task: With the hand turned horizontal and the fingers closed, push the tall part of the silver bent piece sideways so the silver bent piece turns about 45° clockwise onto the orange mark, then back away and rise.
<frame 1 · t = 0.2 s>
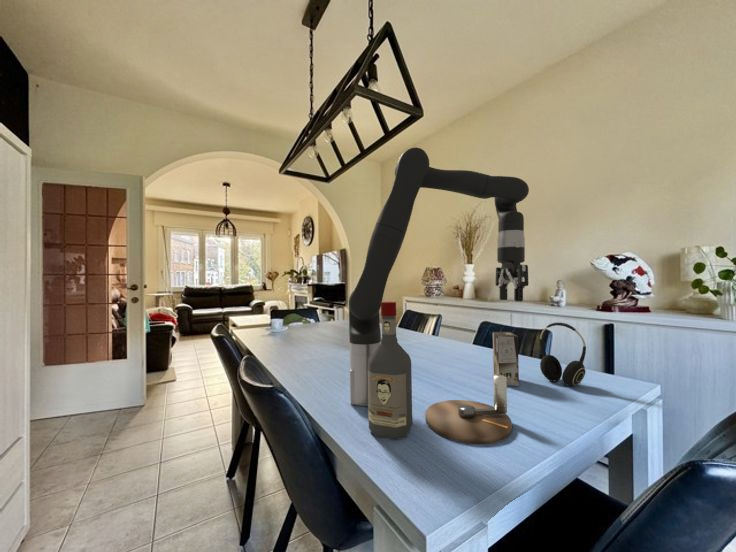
hand: (510, 300, 93), 28 cm above the table, tool pointing down, fingers open, 8 cm apart
liquor: (390, 430, 73), on the table
coffee box: (505, 381, 105), on the table
silver bent piece: (482, 395, 76), point 6 cm above the table, hinge at 0.0°
headphones: (562, 383, 102), on the table
round wooden board: (466, 422, 76), on the table
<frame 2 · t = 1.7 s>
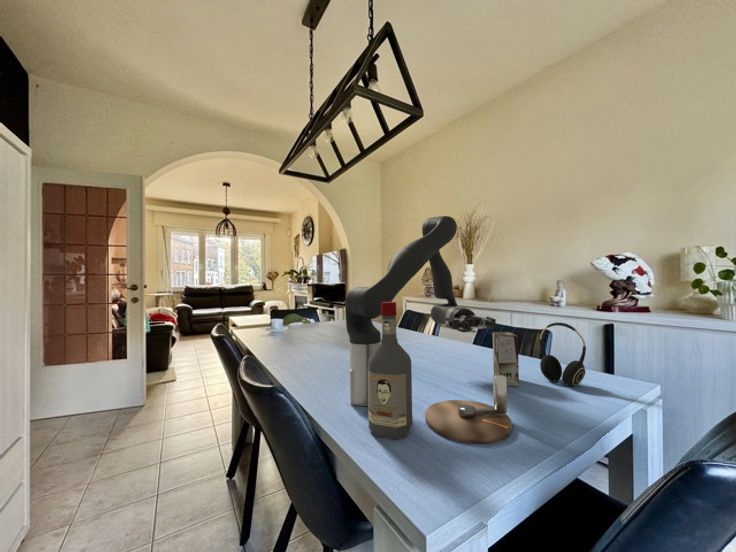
hand: (481, 326, 84), 22 cm above the table, tool horizontal, fingers open, 6 cm apart
nothing on the table moved.
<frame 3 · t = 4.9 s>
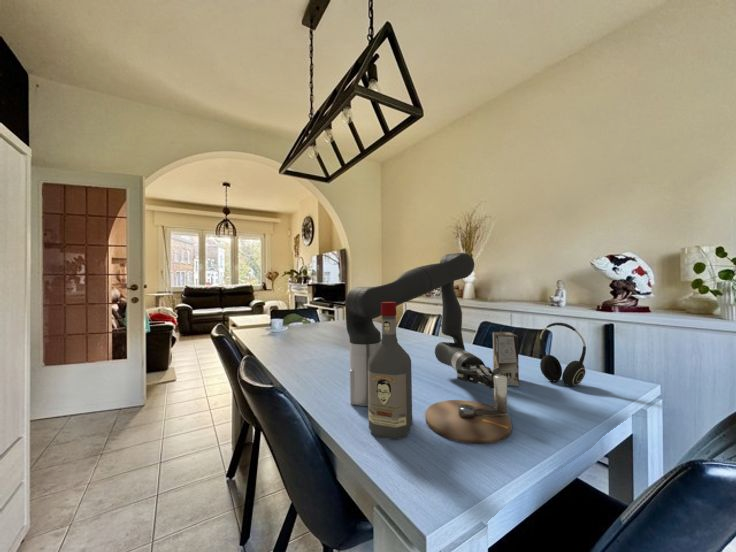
hand: (493, 384, 78), 9 cm above the table, tool horizontal, fingers closed
silver bent piece: (482, 395, 76), point 6 cm above the table, hinge at -1.1°, touching gripper
everything else where it was.
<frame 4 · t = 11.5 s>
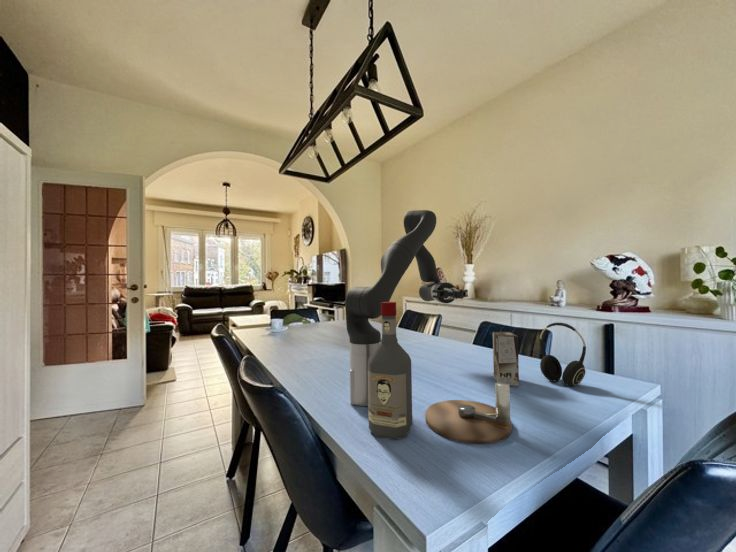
hand: (459, 294, 97), 30 cm above the table, tool horizontal, fingers closed
silver bent piece: (482, 399, 73), point 6 cm above the table, hinge at -42.2°
everything else where it was.
at the end: silver bent piece at -42° (first picture: +0°) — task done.
